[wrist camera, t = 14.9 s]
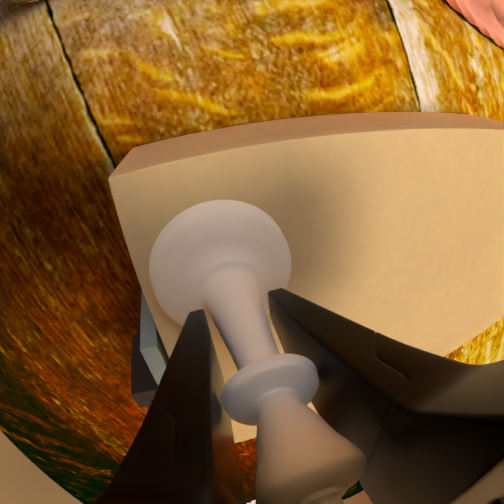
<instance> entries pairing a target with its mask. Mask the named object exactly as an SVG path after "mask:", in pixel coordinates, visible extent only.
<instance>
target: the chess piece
mask: <svg viewBox="0 0 504 504" xmlns="http://www.w3.org/2000/svg"><path fill="white" fill-rule="evenodd" d="M291 268H292V261H291V253H290V249H289V246H288V243H287V241H286V239H285V237H284V235H283V233H282V231H281V229H280V228H279V226H278V225H277V223H276V222H275V221H274V220H273V219H272V218H271V217H270V216H269V215H268V214H267V213H265V212H264V211H262V210H261V209H259V208H257V207H255V206H253V205H251V204H248V203H245V202H241V201H236V200H213V201H207V202H204V203H200V204H197V205H195V206H192V207H190V208H188V209H186V210H185V211H183V212H181V213H180V214H178V215H177V216H176V217H174V218H173V219H172V220H171V221H170V222H169V223H168V224H167V225H166V226H165V227H164V229H163V230H162V231H161V233H160V234H159V236H158V237H157V239H156V241H155V243H154V245H153V248H152V251H151V255H150V260H149V276H150V281H151V285H152V288H153V292H154V295H155V298H156V300H157V302H158V304H159V305H160V307H161V308H162V310H163V311H164V312H165V313H166V314H167V315H168V316H169V317H170V318H171V319H172V320H174V321H175V322H176V323H178V324H180V325H181V326H184V323H185V321H186V319H187V316H188V314H189V313H190V312H191V311H195V310H199V309H203V310H204V311H205V315H206V318H207V322H208V325H209V329H210V332H211V334H220V335H221V337H222V339H223V341H224V343H225V345H226V347H227V349H228V351H229V352H230V354H231V356H232V358H233V361H234V363H235V365H236V367H237V369H238V371H237V372H236V373H235V374H234V375H233V376H232V377H231V378H230V379H229V380H228V381H227V383H226V384H225V386H224V388H223V390H222V393H221V403H222V406H223V408H224V409H225V411H226V412H227V413H228V415H229V416H230V417H231V418H232V419H233V420H235V421H236V422H238V423H241V424H244V425H250V426H257V435H256V449H257V470H256V476H255V498H256V502H257V504H344V502H343V500H342V498H341V497H342V496H343V495H344V494H345V493H346V490H347V489H349V488H350V487H351V486H353V485H354V484H355V483H356V482H357V481H358V480H359V479H360V478H361V477H362V475H363V474H364V472H365V470H366V468H367V465H368V459H367V457H366V455H365V454H364V453H363V452H362V451H361V450H360V449H359V448H358V447H357V446H356V445H355V444H353V443H352V442H351V441H350V440H348V439H347V438H345V437H343V436H342V435H340V434H339V433H338V432H337V431H335V430H334V429H333V428H332V427H331V426H330V425H328V424H327V423H326V421H325V420H324V419H323V418H322V417H321V416H320V415H318V414H317V413H316V412H314V411H313V410H312V409H311V408H309V407H308V406H307V405H308V404H309V403H310V402H311V400H312V399H313V398H314V396H315V394H316V393H317V390H318V387H319V378H318V372H317V368H316V366H315V364H314V363H313V362H312V361H311V360H310V359H308V358H306V357H304V356H301V355H297V354H279V351H278V348H277V345H276V343H275V340H274V337H273V334H272V331H271V328H270V325H269V321H268V318H267V314H268V313H269V312H270V311H269V303H268V292H269V291H271V290H275V289H278V288H283V289H285V290H286V288H287V286H288V283H289V280H290V275H291Z"/></svg>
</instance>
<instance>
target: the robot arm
mask: <svg viewBox="0 0 504 504" xmlns="http://www.w3.org/2000/svg"><path fill="white" fill-rule="evenodd" d="M268 303H269V311H270V317H271V320H272V323H273V326H274V328H275V330H276V333H277V335H278V338H279V340H280V343H281V345H282V348H283V350H284V353H285V354H297V355H301V356H304V357H306V358H308V359H310V360H311V361H312V362H313V363H314V364H315V366H316V368H317V372H318V378H319V387H318V390H317V393H316V394H315V396H314V398H313V399H312V400H311V402H312V404H313V406H314V407H315V409H316V411H317V412H318V414H319V415H320V416H321V417H322V418H323V419H324V420H325V421H326V423H327V424H328V425H330V426H331V427H332V428H333V429H334V430H335V431H337V432H338V433H339V434H340V435H342V436H343V437H345V438H347V439H348V440H350V441H351V442H352V443H353V444H355V445H356V446H357V447H358V448H359V449H360V450H361V451H362V452H363V453H364V454H365V455H366V457H367V459H368V465H367V468H366V470H365V472H364V474H363V475H362V477H361V478H360V479H359V481H360V484H361V485H362V487H363V489H364V490H365V492H366V493H367V495H368V496H369V498H370V500H371V501H372V503H373V504H504V360H503V361H499V362H495V363H490V364H485V365H471V364H465V363H462V362H458V361H455V360H452V359H449V358H446V357H442V356H439V355H436V354H433V353H430V352H427V351H424V350H421V349H418V348H415V347H412V346H410V345H407V344H404V343H402V342H399V341H397V340H395V339H392V338H390V337H387V336H385V335H383V334H381V333H379V332H376V333H375V331H374V330H372V329H370V328H367V327H365V326H363V325H361V324H359V323H356V322H354V321H352V320H350V319H348V318H346V317H343V316H341V315H339V314H337V313H335V312H333V311H330V310H328V309H326V308H324V307H322V306H320V305H317V304H315V303H313V302H311V301H309V300H307V299H305V298H302V297H300V296H298V295H296V294H294V293H292V292H290V291H288V290H285V289H283V288H278V289H275V290H271V291H269V292H268ZM224 386H225V382H224V378H223V374H222V371H221V368H220V364H219V361H218V357H217V354H216V350H215V347H214V343H213V340H212V336H211V332H210V329H209V325H208V322H207V318H206V315H205V311H204V310H203V309H199V310H195V311H191V312H190V313H189V314H188V316H187V319H186V321H185V323H184V326H183V328H182V330H181V333H180V335H179V337H178V340H177V342H176V344H175V347H174V349H173V351H172V354H171V356H170V359H169V361H168V363H167V366H166V368H165V371H164V373H163V375H162V378H161V380H160V383H159V385H158V388H157V390H156V393H155V395H154V397H153V399H154V400H152V402H151V405H150V407H149V410H148V412H147V414H146V417H145V419H144V421H143V423H142V426H141V428H140V430H139V432H138V434H137V436H136V437H135V439H134V441H133V443H132V445H131V447H130V449H129V451H128V452H127V454H126V456H125V458H124V459H123V461H122V463H121V465H120V467H119V468H118V470H117V472H116V474H115V476H114V478H113V479H112V481H111V483H110V484H109V486H108V488H107V489H106V490H105V492H104V493H103V494H102V495H101V496H100V497H99V499H97V500H96V501H95V502H94V503H92V504H246V500H245V495H244V490H243V485H242V480H241V475H240V469H239V464H238V458H237V453H236V447H235V442H234V436H233V430H232V424H231V418H230V416H229V415H228V413H227V412H226V411H225V409H224V408H223V406H222V403H221V393H222V390H223V388H224Z"/></svg>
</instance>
